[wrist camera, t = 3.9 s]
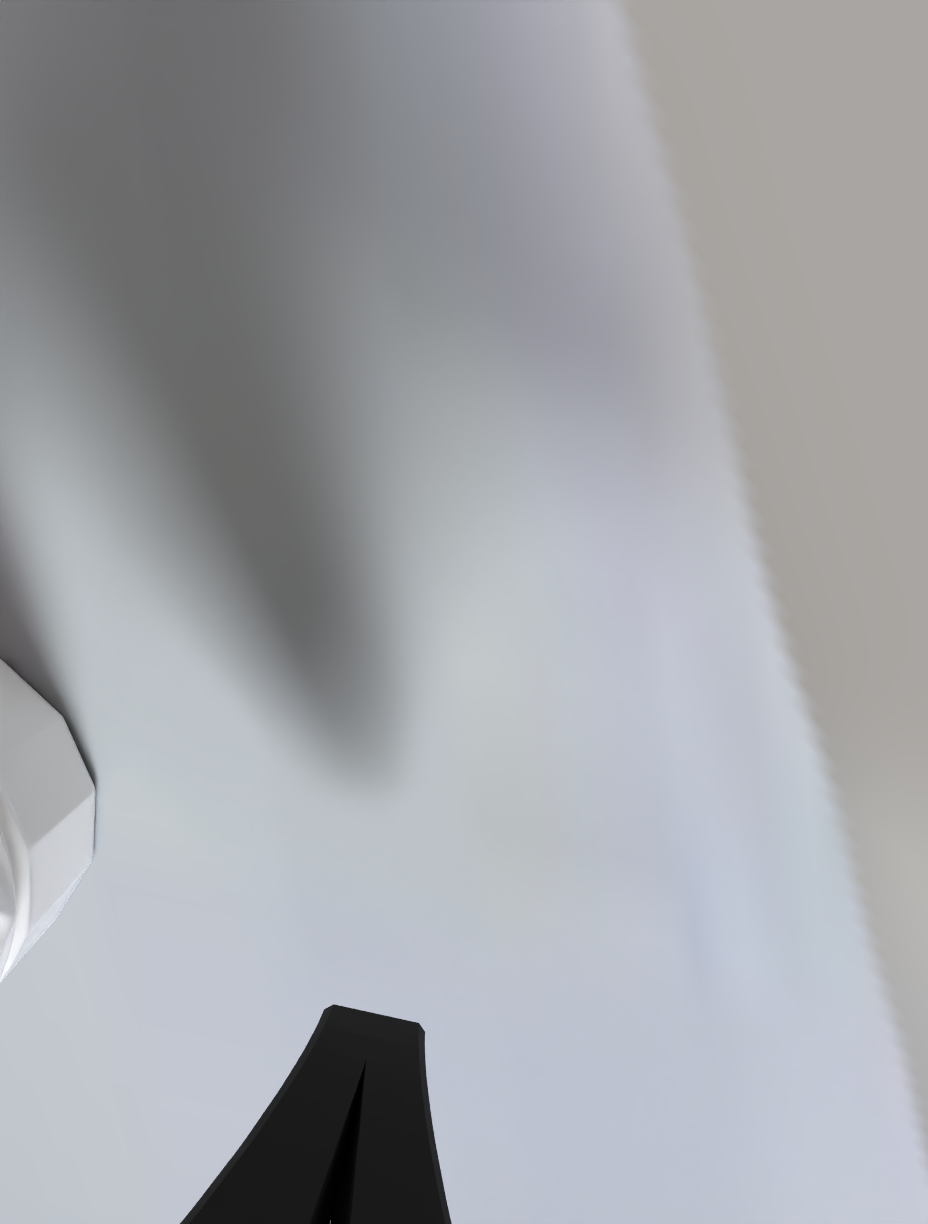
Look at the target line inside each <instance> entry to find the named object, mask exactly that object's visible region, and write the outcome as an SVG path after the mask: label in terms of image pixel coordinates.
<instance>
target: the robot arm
mask: <svg viewBox="0 0 928 1224" xmlns="http://www.w3.org/2000/svg"><path fill="white" fill-rule="evenodd" d="M330 1220H331V1222H330ZM180 1224H451V1219H450V1215H449V1210H448V1206H447V1201H446V1196H445V1191H444V1186H443V1181H442V1176H441V1170H440V1165H439V1160H438V1155H437V1149H436V1144H435V1138H434V1132H433V1125H432V1118H431V1111H430V1103H429V1096H428V1087H427V1077H426V1065H425V1031H424V1030H423V1028H422V1027H421V1025H420V1024H419V1023H416V1022H411V1021H407V1020H402V1019H398V1018H393V1017H389V1016H384V1015H380V1014H375V1013H370V1012H366V1011H361V1010H357V1009H352V1008H348V1007H343V1006H339V1005H332V1006H330V1007H328V1008H326V1009H324V1011H323V1014H322V1016H321V1018H320V1020H319V1023H318V1025H317V1027H316V1029H315V1031H314V1033H313V1035H312V1036H311V1038H310V1040H309V1042H308V1044H307V1046H306V1048H305V1049H304V1051H303V1053H302V1054H301V1056H300V1058H299V1060H298V1061H297V1063H296V1065H295V1066H294V1068H293V1069H292V1071H291V1072H290V1074H289V1076H288V1077H287V1079H286V1080H285V1082H284V1084H283V1085H282V1087H281V1088H280V1090H279V1091H278V1093H277V1094H276V1096H275V1097H274V1099H273V1100H272V1102H271V1103H270V1105H269V1106H268V1107H267V1109H266V1110H265V1112H264V1113H263V1115H262V1116H261V1118H260V1119H259V1120H258V1122H257V1123H256V1125H255V1126H254V1128H253V1129H252V1131H251V1132H250V1134H249V1135H248V1136H247V1138H246V1139H245V1141H244V1142H243V1143H242V1145H241V1146H240V1147H239V1149H238V1150H237V1152H236V1153H235V1154H234V1155H233V1157H232V1158H231V1159H230V1161H229V1162H228V1163H227V1165H226V1166H225V1167H224V1168H223V1170H222V1171H221V1172H220V1174H219V1175H218V1176H217V1178H216V1179H215V1180H214V1181H213V1183H212V1184H211V1185H210V1187H209V1188H208V1189H207V1190H206V1192H205V1193H204V1194H203V1196H202V1197H201V1198H200V1200H199V1201H198V1202H197V1203H196V1205H195V1206H194V1207H193V1209H192V1210H191V1211H190V1212H189V1214H188V1215H187V1216H186V1217H185V1218H184V1220H183V1221H182V1222H181V1223H180Z"/></svg>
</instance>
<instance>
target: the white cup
mask: <svg viewBox="0 0 928 1224" xmlns="http://www.w3.org/2000/svg"><path fill="white" fill-rule="evenodd" d="M94 819H95V787H94V784H93V782H92V780H91V777H90V775H89V773H88V771H87V768H86V766H85V764H84V762H83V760H82V757H81V755H80V753H79V751H78V748H77V746H76V744H75V742H74V740H73V737H72V735H71V733H70V731H69V728H68V726H67V724H66V722H65V720H64V718H63V717H62V715H61V714H60V713H59V712H58V711H56V710H55V709H54V708H53V707H52V706H51V705H50V704H49V703H48V702H47V701H46V700H45V699H44V698H43V697H41V696H40V695H39V694H38V693H37V692H36V691H35V690H34V689H33V688H32V687H31V686H30V685H29V684H28V683H26V682H25V681H24V680H23V679H22V678H21V677H20V676H19V675H18V674H17V673H16V672H15V671H14V670H12V669H11V668H10V667H9V666H8V665H7V664H6V663H5V662H4V661H3V660H1V659H0V983H1V982H2V981H3V979H4V978H5V977H6V976H7V975H8V974H9V973H10V971H11V970H12V969H13V968H14V967H15V966H16V964H17V963H18V962H19V961H20V960H21V959H22V958H23V956H24V955H25V954H26V953H27V952H28V951H29V949H30V948H31V947H32V946H33V945H34V944H35V943H36V941H37V940H38V939H39V938H40V937H41V936H42V935H43V933H44V932H45V931H46V930H47V929H48V928H49V926H50V925H51V924H52V923H53V922H54V920H55V919H56V918H57V916H58V915H59V913H60V912H61V910H62V909H63V907H64V905H65V904H66V902H67V901H68V899H69V897H70V896H71V894H72V893H73V891H74V889H75V888H76V886H77V885H78V883H79V882H80V880H81V878H82V877H83V875H84V874H85V872H86V870H87V869H88V867H89V866H90V864H91V862H92V860H93V847H94Z"/></svg>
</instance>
